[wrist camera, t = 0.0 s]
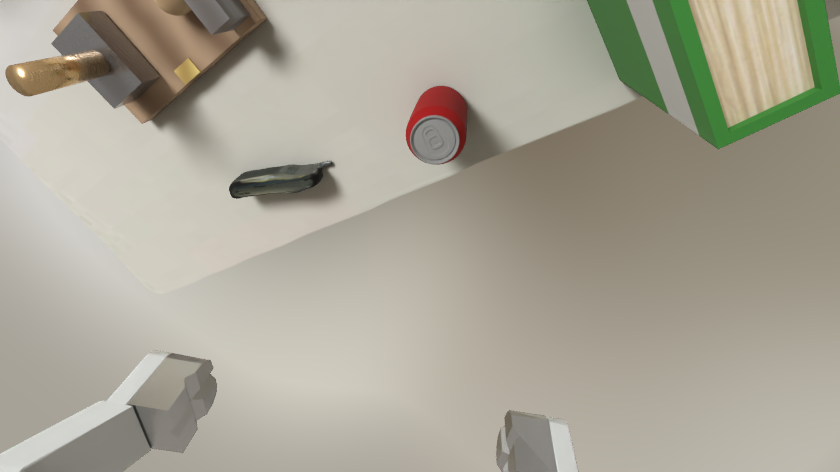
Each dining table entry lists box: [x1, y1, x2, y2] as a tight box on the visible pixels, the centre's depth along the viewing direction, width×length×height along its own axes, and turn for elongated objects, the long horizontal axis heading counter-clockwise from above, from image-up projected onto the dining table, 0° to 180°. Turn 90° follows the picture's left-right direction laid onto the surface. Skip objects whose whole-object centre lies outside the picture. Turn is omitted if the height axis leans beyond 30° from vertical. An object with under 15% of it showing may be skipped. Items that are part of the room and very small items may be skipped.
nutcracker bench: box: [53, 0, 267, 124], centre depth 50 cm, size 24×14×7 cm, turn 123°
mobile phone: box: [229, 161, 332, 199], centre depth 60 cm, size 5×3×15 cm
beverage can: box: [406, 86, 467, 164], centre depth 50 cm, size 7×7×12 cm
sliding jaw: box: [6, 11, 161, 109], centre depth 47 cm, size 6×9×14 cm, turn 33°
